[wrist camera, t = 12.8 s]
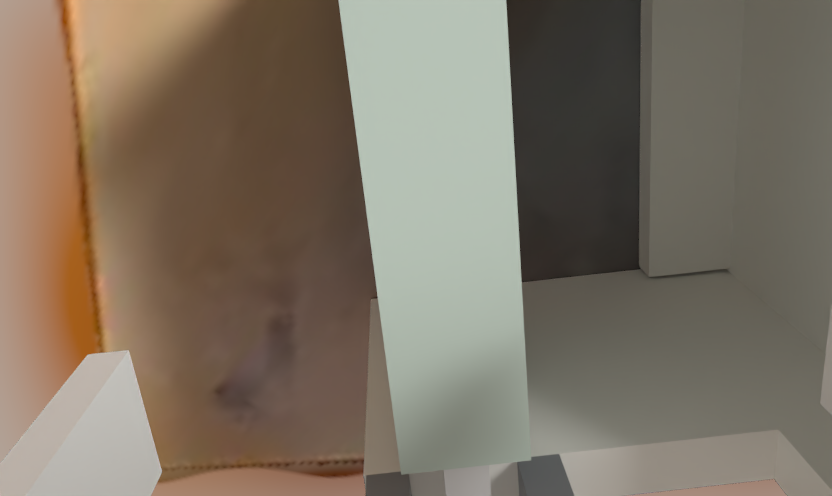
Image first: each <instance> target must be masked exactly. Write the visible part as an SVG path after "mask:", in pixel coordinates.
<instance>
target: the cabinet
mask: <svg viewBox="0 0 832 496" xmlns="http://www.w3.org/2000/svg"><path fill="white" fill-rule="evenodd" d="M639 267H640V268H641V269H638V270H629V271H620V272H611V273H602V274H593V275H584V276H575V277H566V278H557V279H548V280H538V281H529V282H522V298H523V316H524V335H525V353H526V371H527V390H528V408H529V427H530V445H531V460H530V461H521V462H511V463H502V464H493V465H489V474H490V486H491V496H625V495H635V494H644V493H653V492H662V491H671V490H680V489H689V488H698V487H707V486H716V485H725V484H734V483H743V482H752V481H760V480H770V479H775V481H776V482H777V483H778V485H779V486H780V487H781V489H782V490H783V491H784V492H785V494H786V495H787V496H832V415H831V414H830V413H829V412H828V411H827V410H826V409H825V408H824V407H823V406H822V405H821V404H820V400H821V391H822V382H823V373H824V364H825V355H826V346H827V338H828V329H829V320H830V311H831V302H832V0H641V65H640V189H639ZM363 477H364V483H365V489H366V496H446V492H445V483H444V473H443V470H439V471H430V472H421V473H412V474H403V475H401V469H400V462H399V454H398V447H397V439H396V431H395V424H394V416H393V409H392V401H391V394H390V386H389V379H388V371H387V364H386V356H385V348H384V341H383V333H382V326H381V318H380V311H379V303H378V298H375V299H371V307H370V330H369V354H368V378H367V401H366V425H365V448H364V472H363Z"/></svg>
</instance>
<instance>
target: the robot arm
mask: <svg viewBox="0 0 832 496" xmlns="http://www.w3.org/2000/svg"><path fill="white" fill-rule="evenodd" d="M820 404H821V405H822V406H823V407H824V408H825V409H826V410H827V411H828V412H829V413H830V414H831V415H832V302H831V311H830V320H829V329H828V338H827V346H826V355H825V364H824V373H823V382H822V391H821V400H820ZM161 473H162V469H161V466H160V462H159V459H158V455H157V451H156V448H155V444H154V440H153V437H152V433H151V429H150V426H149V422H148V419H147V415H146V411H145V408H144V404H143V400H142V397H141V393H140V389H139V386H138V382H137V379H136V375H135V371H134V368H133V364H132V360H131V357H130V353H129V350H125V351H116V352H106V353H97V354H88V355H87V356H86V357H85V359H84V360H83V361H82V362H81V364H80V365H79V366H78V367H77V369H76V370H75V371H74V372H73V374H72V375H71V376H70V377H69V379H68V380H67V381H66V382H65V383H64V385H63V386H62V387H61V389H60V390H59V391H58V392H57V393H56V395H55V396H54V397H53V398H52V400H51V401H50V402H49V403H48V405H47V406H46V407H45V408H44V409H43V411H42V412H41V413H40V415H39V416H38V417H37V418H36V419H35V421H34V422H33V423H32V424H31V426H30V427H29V428H28V429H27V431H26V432H25V433H24V434H23V435H22V437H21V438H20V439H19V440H18V442H17V443H16V444H15V445H14V447H13V448H12V449H11V450H10V452H9V453H8V454H7V455H6V457H5V458H4V459H3V460H2V462H1V463H0V496H151V495H152V492H153V490H154V488H155V486H156V484H157V482H158V480H159V478H160V476H161Z"/></svg>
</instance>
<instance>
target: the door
mask: <svg viewBox="0 0 832 496" xmlns="http://www.w3.org/2000/svg"><path fill="white" fill-rule="evenodd" d="M338 1H339V9H340V16H341V24H342V31H343V39H344V46H345V54H346V62H347V69H348V77H349V84H350V92H351V99H352V107H353V114H354V122H355V130H356V137H357V145H358V152H359V160H360V167H361V175H362V182H363V190H364V197H365V205H366V213H367V220H368V228H369V235H370V243H371V250H372V258H373V265H374V273H375V280H376V288H377V296H378V303H379V311H380V318H381V326H382V333H383V341H384V348H385V356H386V364H387V371H388V379H389V386H390V394H391V401H392V409H393V416H394V424H395V431H396V439H397V447H398V454H399V462H400V469H401V475H403V474H412V473H421V472H430V471H439V470H443V473H444V483H445V492H446V496H491V486H490V474H489V465H493V464H502V463H511V462H521V461H530V460H531V445H530V427H529V408H528V390H527V371H526V353H525V335H524V316H523V298H522V280H521V261H520V243H519V225H518V206H517V188H516V170H515V151H514V133H513V115H512V96H511V78H510V60H509V41H508V23H507V4H506V0H338Z"/></svg>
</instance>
